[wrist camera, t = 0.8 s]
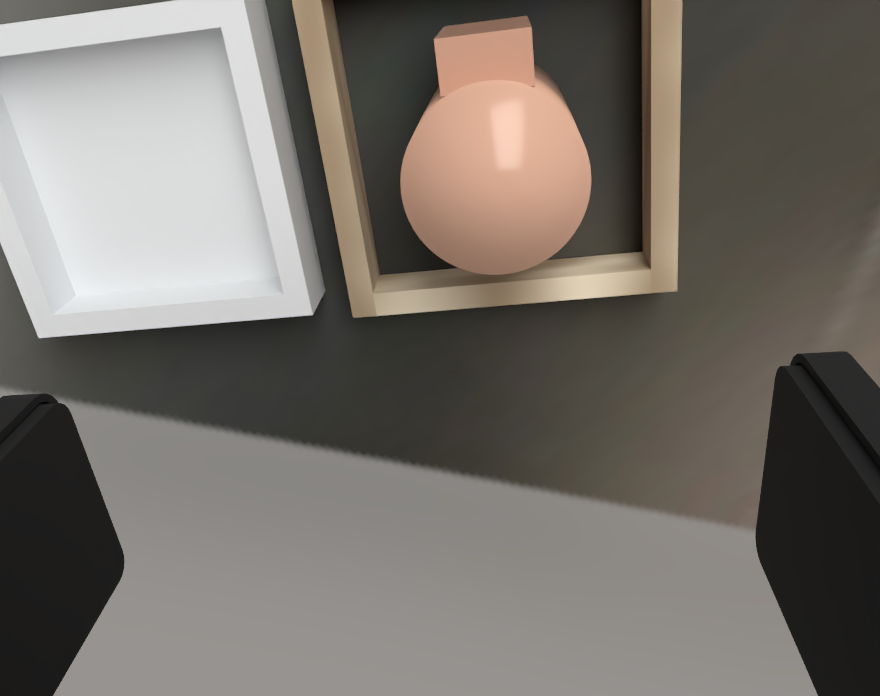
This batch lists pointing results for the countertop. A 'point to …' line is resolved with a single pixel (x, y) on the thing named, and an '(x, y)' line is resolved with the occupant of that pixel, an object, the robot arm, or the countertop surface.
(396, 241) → the countertop surface
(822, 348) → the countertop surface
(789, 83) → the countertop surface
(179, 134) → the tray
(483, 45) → the pink cylinder with tab
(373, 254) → the light wooden square frame
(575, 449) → the countertop surface
